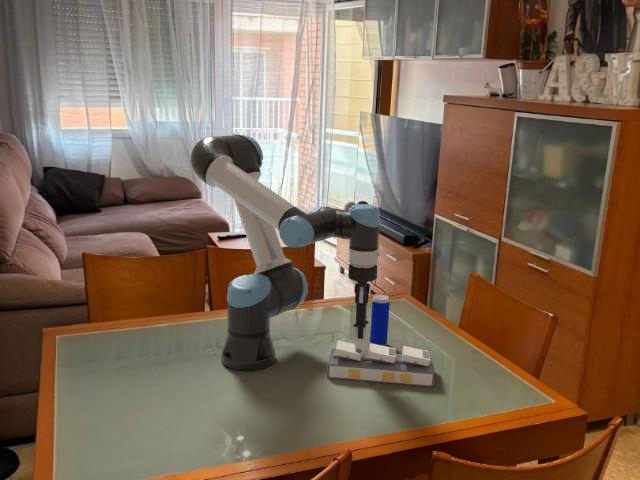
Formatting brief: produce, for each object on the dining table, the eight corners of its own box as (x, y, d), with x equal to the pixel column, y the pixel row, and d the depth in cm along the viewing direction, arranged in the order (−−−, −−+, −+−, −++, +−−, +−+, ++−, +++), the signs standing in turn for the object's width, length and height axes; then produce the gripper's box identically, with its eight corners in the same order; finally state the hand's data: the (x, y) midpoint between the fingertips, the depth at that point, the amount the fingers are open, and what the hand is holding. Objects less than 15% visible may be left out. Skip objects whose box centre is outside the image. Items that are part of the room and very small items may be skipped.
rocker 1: (334, 356, 165) (336, 348, 164) (336, 347, 170) (338, 339, 169) (359, 362, 164) (361, 354, 164) (360, 353, 170) (362, 345, 169)
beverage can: (386, 341, 189) (389, 294, 185) (386, 347, 184) (390, 300, 180) (369, 339, 189) (372, 293, 186) (369, 346, 185) (372, 299, 181)
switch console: (326, 378, 164) (327, 362, 162) (330, 361, 174) (331, 346, 173) (433, 387, 161) (435, 371, 160) (431, 369, 171) (432, 354, 170)
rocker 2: (367, 359, 164) (369, 351, 163) (368, 350, 169) (370, 342, 169) (393, 365, 163) (395, 356, 163) (393, 356, 169) (395, 348, 168)
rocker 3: (401, 362, 163) (403, 353, 162) (401, 353, 168) (403, 345, 168) (428, 367, 162) (430, 359, 162) (426, 358, 168) (428, 350, 167)
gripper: (376, 272, 154) (373, 359, 159) (378, 258, 166) (374, 339, 172) (347, 270, 155) (344, 357, 160) (350, 256, 167) (347, 337, 173)
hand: (360, 347), depth 166 cm, fingers closed
